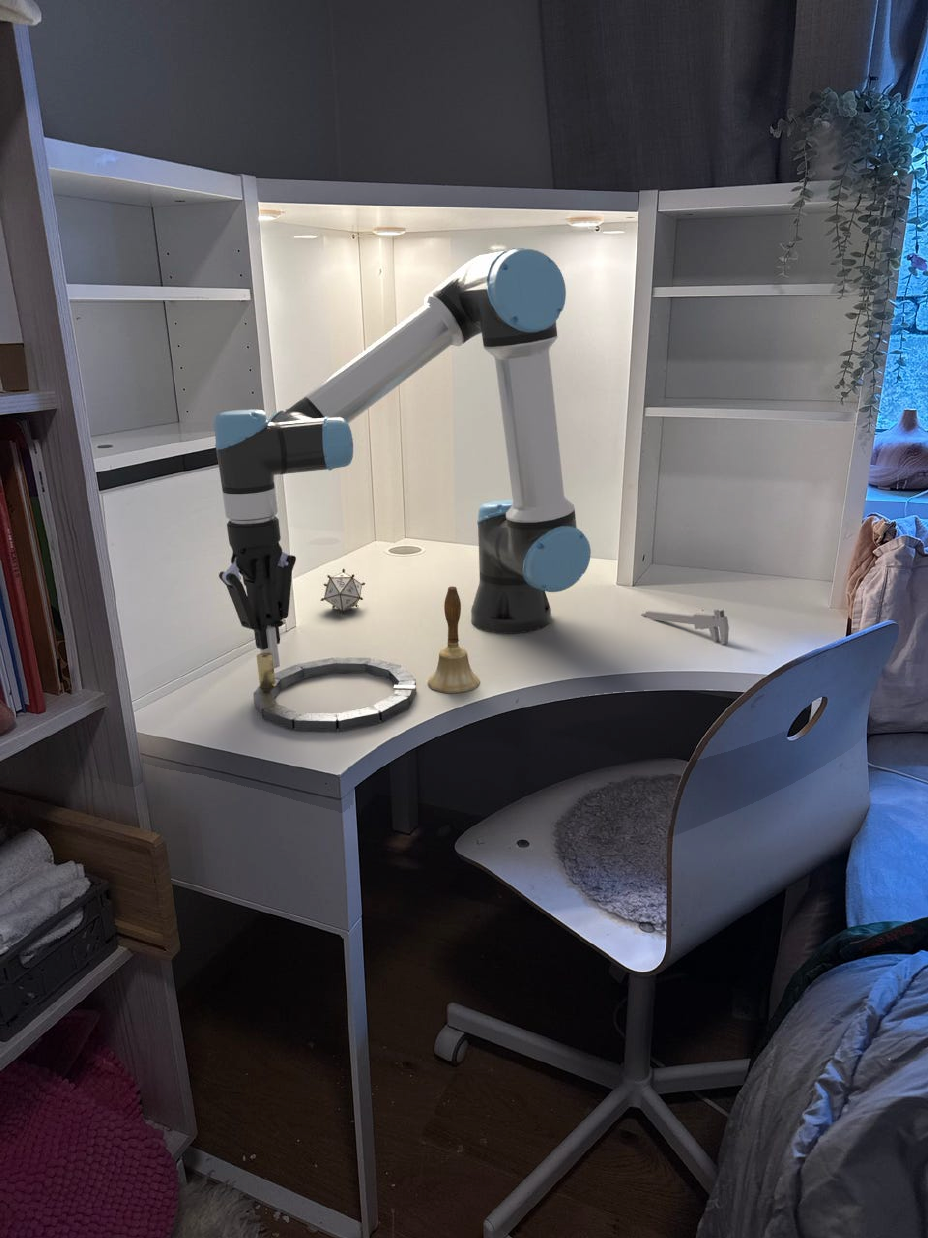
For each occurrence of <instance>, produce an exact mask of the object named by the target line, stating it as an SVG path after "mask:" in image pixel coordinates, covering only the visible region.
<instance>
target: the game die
mask: <svg viewBox="0 0 928 1238" xmlns="http://www.w3.org/2000/svg"><path fill="white" fill-rule="evenodd" d="M326 576H327V578H328V581H327V583H323V586H324V587H325V591H324V597H322V598H320V601H321V602H323V601H326V602H327V603H328V604H331V605H332V606H331V607H332V609H335V608H336V609H338V610H339V611H341V615H342V616H343V615H344V614H345V611H347V610H350V609H351V608H353V607H355V608H356V607H357V606H358V607H359V605H358V603H359V601H360V600H361V601H363V600H364V597H362V596H361V593H362V589H363V588H362V587H363V586H365V585H366V582H362V583H361V582H360V581H359V580H358V579H355V574H354V573H353V574H351V575H350V574H347V573H346V569H345V568H342V572H340V573H338V574H336V575H333V576H331V575H330V574H327V575H326Z"/></svg>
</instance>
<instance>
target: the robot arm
mask: <svg viewBox="0 0 928 1238" xmlns="http://www.w3.org/2000/svg"><path fill="white" fill-rule="evenodd" d="M563 276H564V275H563V274H562V271H561V269H560V268H559V265H557V263H555V261H554V260H553V259H551V258H550V257H549V256H548V255H547V254H545V253H544V252H542V251H539V250H537V249H536V250H535V249H531V248H522V247H521V248H519V247H518V248H515V247H513V248H510V249H508V250H504V251H498V252H490V253H489V252H488V253H485V254H481V255H478V256H476V257H474V258H473V259H471V260H470V261H467V263H465V264H464V265H462V266H461V267H460V268H459V269H458V270H457V271H456V272H455V273H453V274H452V275H451V276H449V277H448V278H447V279H446V280H444V282H442V283H441V284H440V285H438V286H437V287H436V288H434V290H432V291H431V292H430V293H429V294H427V295H426V296H425V298H424V304H423V306H422V307H421V308H419V309H418V310H417V311H415V312H414V313H413V314H411V315H409V317H407V318H406V319H405V320H404V321H402V322H401V323H400V324H398V325H397V326H396V327H394V328H392V330H391V331H389V332H387V334H385V335H384V336H382V337H381V338H380V339H378V340H377V341H376V342H374V343H373V344H372V345H371V346H369V347H368V348H367V349H366V350H364V351H363V352H362V353H360V354H359V355H358V356H356V357H355V358H354V359H352V360H351V361H350V362H348V363H346V365H344V366H343V367H341V368H340V369H339V370H338V371H337V372H335V373H334V374H332V375H331V376H330V377H328V378H327V379H326V380H325V381H324V382H322V383H320V384H319V385H318V386H317V387H315V388H314V389H313V390H312V391H310V392H309V393H307V394H306V395H305V396H304V397H303V398H301V399H300V400H299V401H297V402H295V403H294V404H293V405H291V406H290V407H289V408H285V409H284V408H283V409H281V410H278V411H277V412H275V413H273V414H272V415H271V417H270V418H269V419H268V417H267V414H266V412H265V411H264V410H261V409H238V410H237V409H236V410H229V411H223V412H221V413H218V414H217V415H216V416H215V417H214V421H213V425H214V426H213V427H214V436H215V437H214V439H215V445H214V446H215V450H216V457H217V463H218V470H219V476H220V483H221V490H222V491H221V492H222V498H223V504H224V512H225V517H226V519H228V522H227V523H226V528H227V535H228V543H229V545H230V547H231V549H232V555H231V558H230V563H231V564H230V566H229V567H228V568H227V570H226V571H224V570H223V571H220V572H219V574H218V577H219V579H220V580H221V582H223V584H224V585H225V586H226V588H227V591H228V594H229V596H230V599H231V601H232V603H233V606H234V609H235V612H236V614H237V617H238V619H239V622H240V625H241V627H244V628H246V629H250V630H253V631H254V639H255V646H256V648H257V649H259V650H260V653H265V652H269V653H272V654H273V664H274V670H276V669H277V668H280V667H281V665H280V664H281V663H280V656H279V648H278V647H279V646H278V645H279V644H280V643H281V635H280V628H279V627H282V626H283V624H284V621H282V620H284V619H287V618H288V617H289V613H290V612H289V611H290V601H291V586H292V575H293V570H294V566H295V564H296V561H297V557H296V556H295V555H292V554H287V553H285V552H283V548H282V546H281V545H280V543H279V542H280V541H281V539H282V537H281V529H280V519H279V518H278V517H277V516H276V515H277V514H278V513H279V510H278V509H279V507H278V501H277V494H276V487H275V486H276V485H275V477H274V476H276V475H285V474H295V473H296V474H297V473H304V472H315V471H316V472H317V471H327V470H328V471H332V470H334V469H335V470H336V469H341V468H345V467H348V466H349V465H350V464H351V463H352V460H353V458H354V457H353V456H354V441H353V434H352V431H351V428H350V425H349V424H350V423H351V422H353V421H354V420H355V419H356V418H358V417H359V416H360V415H362V414H363V413H364V412H366V410H368V409H370V408H371V407H373V405H375V404H376V403H377V402H379V401H380V400H382V399H383V398H384V397H386V396H387V395H388V394H390V392H391V391H393V390H394V389H396V388H397V387H398V386H400V385H401V384H402V383H404V382H405V381H406V380H407V379H409V378H410V377H412V376H413V375H414V374H415V373H417V372H418V371H419V370H420V369H422V368H423V367H424V366H426V365H428V364H429V363H430V362H431V361H433V360H434V359H435V358H437V357H438V356H439V355H441V353H443V352H444V351H445V350H447V349H448V348H449V347H451V346H453V347H461V346H462V345H463V344H465V343H466V342H468V341H469V340H470V339H472V338H474V337H476V336H477V335H480V334H481V337H482V346H483V349H484V350H485V351H486V352H487V353H489V354H490V355H491V356H493V358H494V362H495V363H494V364H495V370H496V378H497V387H498V394H499V401H500V402H499V403H500V411H501V415H502V416H501V417H502V423H503V433H504V440H505V449H506V455H507V456H506V457H507V463H508V464H507V465H508V472H509V473H508V474H509V479H510V487H511V495H512V499H502V500H495V501H489V502H484V503H483V504H481V505H480V506H479V508H478V517H477V522H476V523H477V529H478V530H477V531H478V532H477V534H478V536H477V537H478V563H479V564H478V566H479V583H478V586H477V590H476V592H475V597H474V600H473V603H472V606H471V609H470V617H471V618H470V619H471V623H472V625H474V626H475V627H477V629H481V630H484V631H486V632H487V631H488V632H492V633H493V632H494V633H503V634H515V633H517V634H518V633H528V632H533V631H537V630H539V629H540V630H541V629H543V628H545V627H546V626H547V625H549V624H550V623H551V622H552V621H551V620H552V612H551V611H552V608H551V606H550V602H549V600H548V599H549V598H548V597H547V594H546V592H547V593H559V592H563V591H565V590H567V589H570V588H571V587H573V586H574V585H575V584H576V583H578V582H579V581H580V580H581V578H582V576H583V575H584V574H585V573H586V571H587V569H588V567H589V564H590V560H591V552H592V551H591V546H590V545H591V544H590V541H589V540H588V538H587V536H586V535H585V533H584V532H583V531H582V530H580V529H579V528H577V518H576V509H575V505H574V504H573V503H572V501H570V500H568V499H567V498H566V497H565V490H564V483H563V475H562V473H563V472H562V463H561V454H560V452H561V451H560V442H559V435H558V425H557V423H558V422H557V415H556V406H555V405H556V404H555V397H554V395H555V394H554V385H553V376H552V368H551V356H550V348H551V347H552V346H553V344H554V343H555V342H556V340H557V339H558V329H557V327H558V326H557V321H558V319H559V317H560V315H561V312H562V311H563V310H564V307H565V304H566V299H567V298H566V297H567V290H566V289H567V287H566V283H565V280H564V277H563ZM241 579H242V581H241ZM242 582H243V583H242ZM244 586H245V587H244ZM245 589H246V590H245Z"/></svg>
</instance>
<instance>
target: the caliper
mask: <svg viewBox="0 0 928 1238" xmlns="http://www.w3.org/2000/svg"><path fill="white" fill-rule="evenodd" d="M640 616H642V617H645V618H647V619H648V620H649V619H650V620H654V621H662V622H663V621H664V622H669V623H670V622H671V623H679V624H688V625H693V626H694V629H695V630H705V629H708V631H709V633H710V637H711V639H712V642H713V643H715V644H717V643H719V642H720V643H721V645H720V646H723V645H727V644H728V642H729V630H730V626H729V621H728V620H729V619H728V616H725V610H724V609H723V610H719V609H716V610H713V614H710V613H709V614H707V613H693V614H686V613H676V612H666V611H656V610H647V611H645V612H644V613H641V614H640Z"/></svg>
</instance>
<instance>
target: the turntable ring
mask: <svg viewBox="0 0 928 1238" xmlns="http://www.w3.org/2000/svg"><path fill="white" fill-rule="evenodd" d="M256 662H257V663H256V664H257V671H258V680H259V686H258V687H257V688H256V690H255V691H253V694H252V695H253V702H254V706H255V708H256V709H257V711H258V713H259V715H260V717H261V719H262V720H264V721H266V722H269V723H271V724H274V725H278V726H279V727H280V726H281V727H283V728H286V729H289V730H291V731H293V730H295V731H303V732H304V731H306V732H307V731H309V732H311V731H312V732H338V731H339V732H341V731H346V730H351V729H357V728H361V727H366V726H371V725H375V724H379V723H380V722H382V723H383V722H384V721H386V720H389V719H390V718H391V717H393V716H395V715H397V714H399V713H401V712H402V711H404V710H406V709H409V707H410V706H411V704H412V702H413V699H414V697H415V695H416V691H417V680H416V678H415V677H413V675H412V674H411V673H410V672H409V671H408V670H407V669H406V668H405V667H404V666H402V665H399V664H397V663H392V662H387V661H385V660H381V659H378V658H373V657H335V658H334V657H329V658H325V659H324V658H323V659H319V660H313V661H307V662H302V663H297V664H293V665H291V666H289V667H287V668H285V669H282V670H279V671H277V672H275V669H274V664H273V654H272V653H269V652H265V653H261V652H260V653H258V654H257V655H256ZM332 673H333V674H334V673H356V674H357V673H358V674H359V673H361V674H363V673H364V674H369V675H373V676H377V677H380V678H384V679H388V680H389V681H390V682H391V683H392V684H393V685H394V686H393V690H395V691H394V692H393V694H392V695H390V696H388V697H386V698H384V699H383V700H381V701H378V702H377V703H375V704H373V705H371V706H367V707H361V708H358V709H353V710H347V711H343V712H337V713H334V712H333V713H332V712H331V713H330V712H301V711H299V710H295V709H292V708H289V707H286V706H284V705H280V704H279V703H277V701H276V699H275V698H276V697H277V695H278V694H279V692H280V691H281V690H282V689H283V688H286V687H288V686H290V685H292V684H294V683H296V682H299V681H301V680H303V679H305V678H311V677H317V676H322V675H328V674H332Z"/></svg>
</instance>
